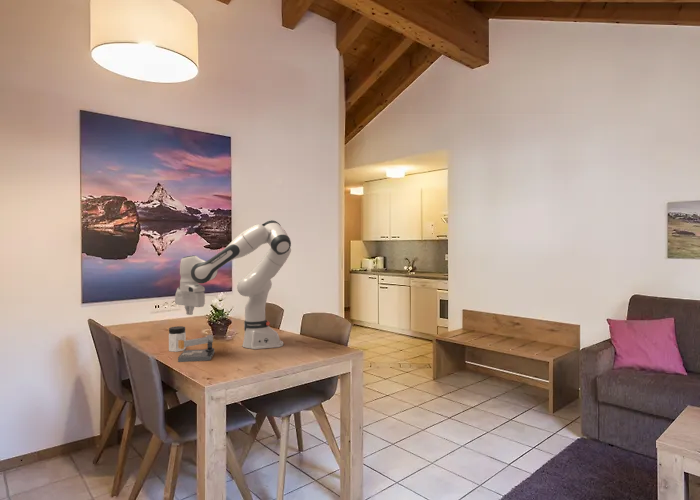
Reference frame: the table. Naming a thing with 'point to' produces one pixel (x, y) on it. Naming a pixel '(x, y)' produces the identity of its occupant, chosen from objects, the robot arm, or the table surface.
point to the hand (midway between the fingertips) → (189, 314)
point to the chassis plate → (197, 354)
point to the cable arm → (195, 341)
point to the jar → (176, 338)
